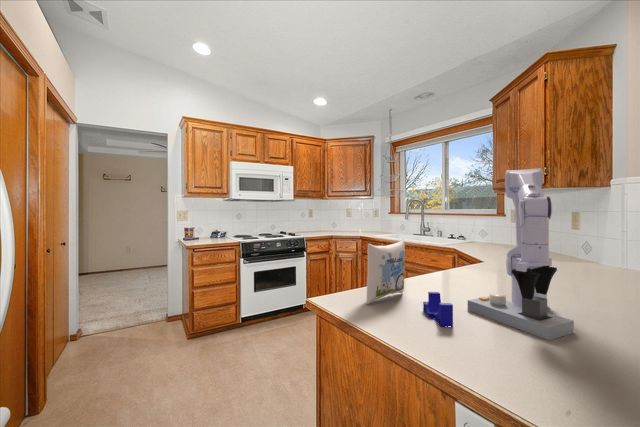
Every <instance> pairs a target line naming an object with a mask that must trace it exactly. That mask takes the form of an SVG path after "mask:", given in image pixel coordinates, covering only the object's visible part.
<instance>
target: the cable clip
mask: <svg viewBox="0 0 640 427" xmlns="http://www.w3.org/2000/svg"><path fill="white" fill-rule="evenodd" d="M427 296H428V301H422V303H423V304H422V309H423V312H424V314H425V313H426V314H425V315H426V317H427V316H428V317H427V318H428V319H434V318H435V319H434V320H435V321H436V323H437V322H438V323H439V324H440V325H439V324H438V323H437V324H438V325H439V327H440V328H449V327H448V326H451V327H450V328H454V305H453V304H452V303H451V302H441V300H442V299H441V293H440V292H439V291H428V293H427ZM445 326H447V327H445Z"/></svg>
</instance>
